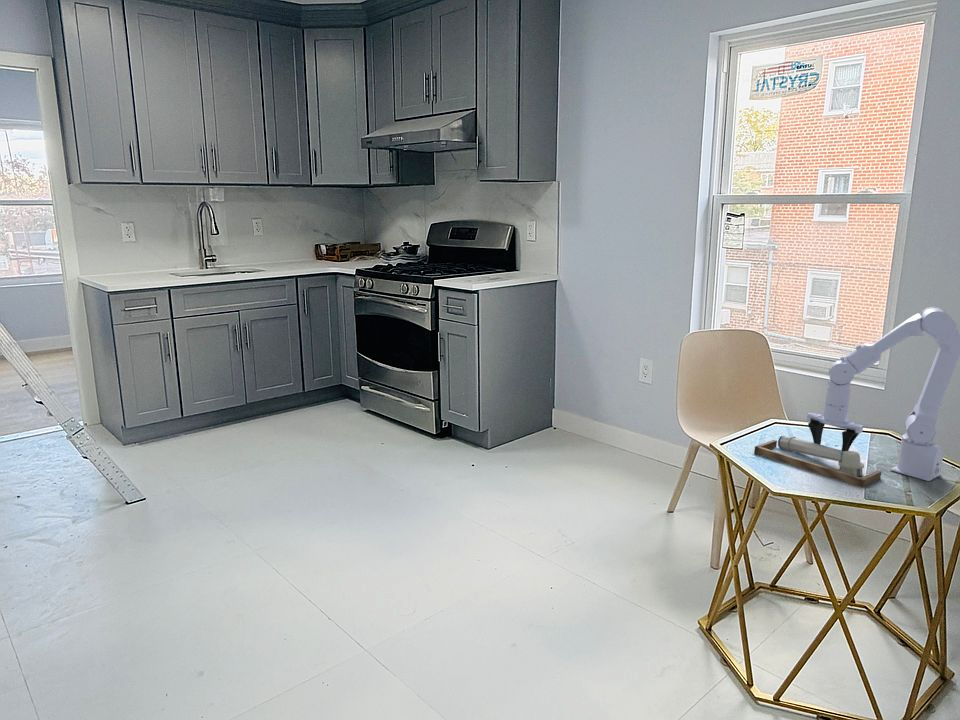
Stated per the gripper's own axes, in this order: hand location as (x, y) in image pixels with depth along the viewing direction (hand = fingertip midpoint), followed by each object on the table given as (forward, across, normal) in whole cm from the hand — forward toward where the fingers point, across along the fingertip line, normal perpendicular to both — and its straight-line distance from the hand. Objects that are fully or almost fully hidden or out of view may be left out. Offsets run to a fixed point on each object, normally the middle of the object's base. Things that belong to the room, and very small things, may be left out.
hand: (830, 450), depth 193 cm
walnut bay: (+2, 0, -8) cm, 9 cm away
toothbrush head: (+3, -1, -4) cm, 5 cm away
